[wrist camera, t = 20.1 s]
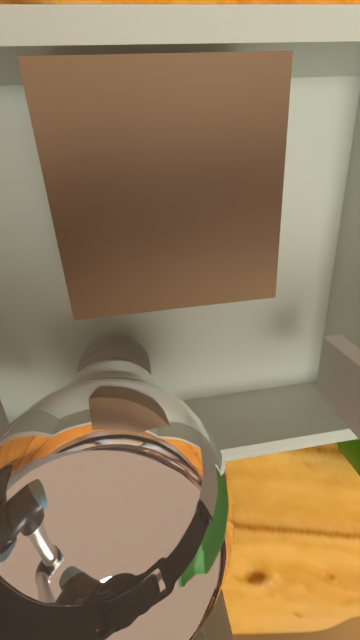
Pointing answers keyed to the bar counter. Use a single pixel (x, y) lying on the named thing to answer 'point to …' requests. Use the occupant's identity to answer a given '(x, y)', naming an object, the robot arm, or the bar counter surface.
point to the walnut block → (162, 174)
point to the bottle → (351, 452)
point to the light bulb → (111, 508)
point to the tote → (210, 320)
